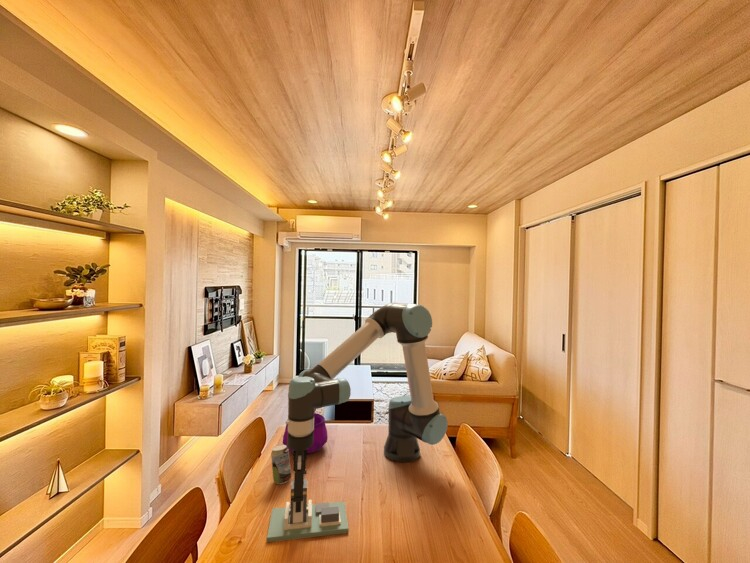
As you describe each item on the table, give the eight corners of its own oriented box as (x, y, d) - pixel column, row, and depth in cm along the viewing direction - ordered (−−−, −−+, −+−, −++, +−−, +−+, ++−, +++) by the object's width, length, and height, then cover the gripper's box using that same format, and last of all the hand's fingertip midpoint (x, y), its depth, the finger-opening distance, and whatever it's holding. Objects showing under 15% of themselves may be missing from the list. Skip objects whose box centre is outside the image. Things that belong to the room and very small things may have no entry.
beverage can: (286, 487, 113) (287, 452, 113) (266, 484, 114) (267, 449, 114) (294, 477, 119) (295, 444, 119) (275, 475, 120) (276, 441, 121)
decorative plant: (336, 449, 140) (337, 378, 141) (298, 465, 127) (300, 387, 128) (310, 435, 154) (312, 370, 155) (274, 448, 141) (276, 377, 141)
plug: (306, 512, 98) (307, 478, 99) (306, 523, 94) (307, 487, 94) (290, 514, 98) (291, 480, 98) (289, 525, 93) (290, 489, 93)
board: (344, 505, 104) (344, 491, 104) (348, 532, 92) (348, 517, 92) (272, 512, 100) (272, 498, 100) (266, 542, 88) (267, 526, 88)
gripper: (290, 417, 107) (288, 487, 106) (284, 451, 85) (281, 539, 84) (313, 416, 108) (311, 485, 107) (313, 449, 86) (311, 535, 85)
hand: (298, 509), depth 96 cm, fingers open, 10 cm apart
